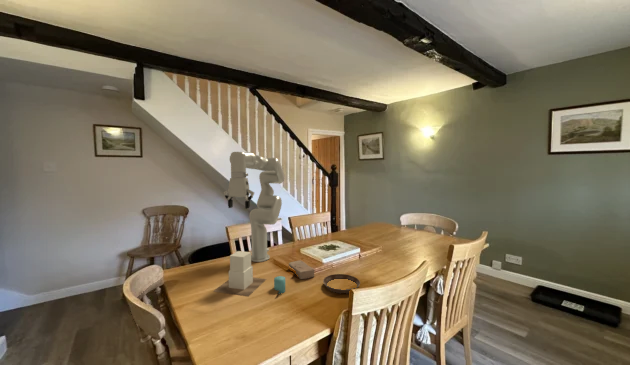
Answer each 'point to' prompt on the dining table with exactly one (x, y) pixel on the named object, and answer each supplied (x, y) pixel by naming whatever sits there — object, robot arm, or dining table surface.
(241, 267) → the tower block upper
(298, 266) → the brick
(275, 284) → the teal cylinder
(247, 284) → the tower block lower
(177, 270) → the dining table surface
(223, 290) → the tower board
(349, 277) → the dark brown ring
